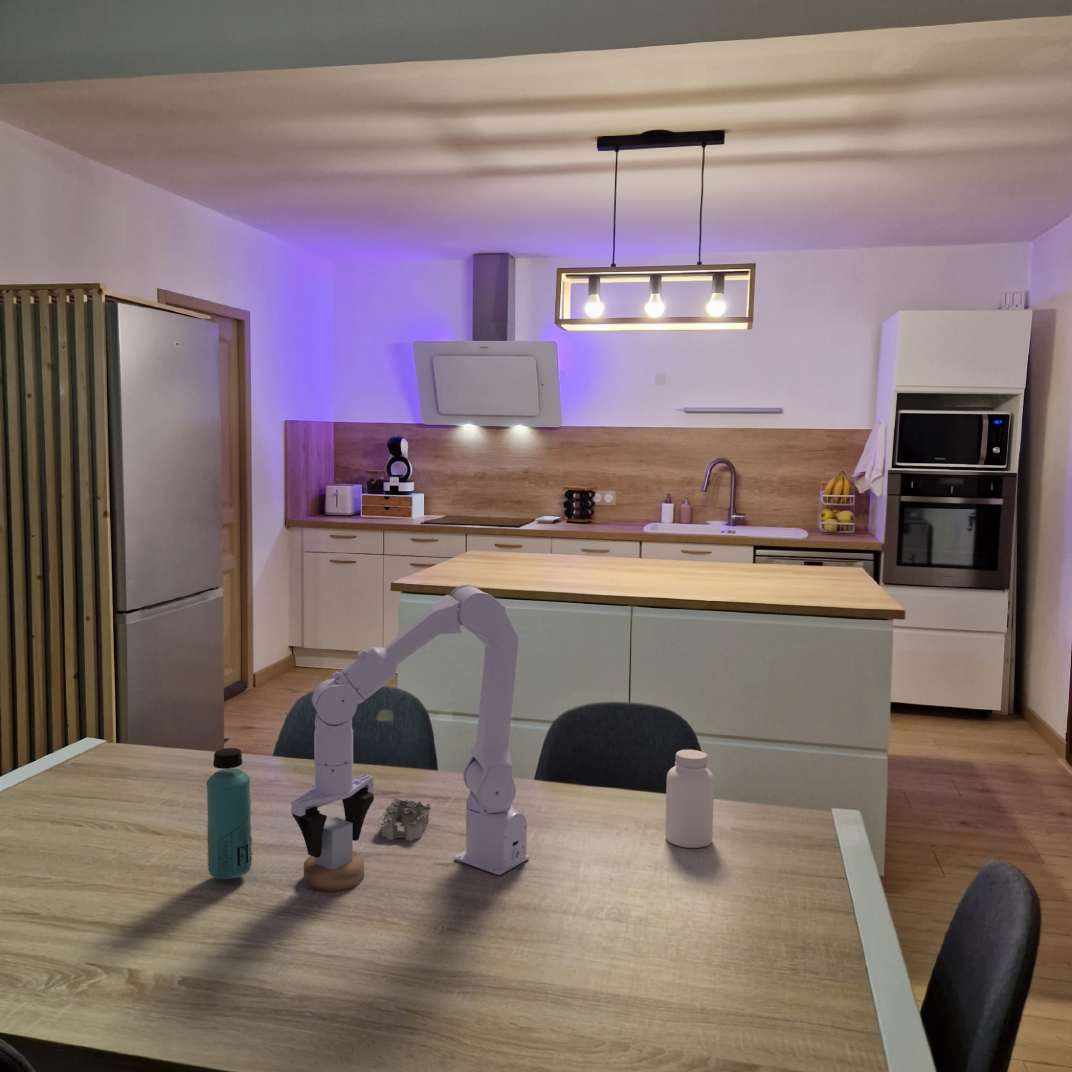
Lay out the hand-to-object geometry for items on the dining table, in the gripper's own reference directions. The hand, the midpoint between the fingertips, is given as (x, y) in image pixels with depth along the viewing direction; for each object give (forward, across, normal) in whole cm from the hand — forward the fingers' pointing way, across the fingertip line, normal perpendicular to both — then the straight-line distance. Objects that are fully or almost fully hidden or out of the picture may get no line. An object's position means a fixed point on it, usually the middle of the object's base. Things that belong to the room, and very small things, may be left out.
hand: (333, 846), depth 141 cm
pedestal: (+5, 0, 0) cm, 5 cm away
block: (+2, 0, 0) cm, 2 cm away
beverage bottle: (+5, +10, -12) cm, 16 cm away
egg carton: (+5, -20, -5) cm, 22 cm away
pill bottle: (+5, -47, +36) cm, 59 cm away
